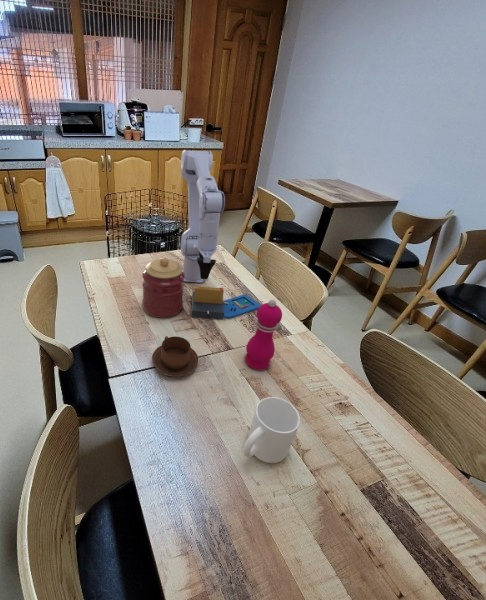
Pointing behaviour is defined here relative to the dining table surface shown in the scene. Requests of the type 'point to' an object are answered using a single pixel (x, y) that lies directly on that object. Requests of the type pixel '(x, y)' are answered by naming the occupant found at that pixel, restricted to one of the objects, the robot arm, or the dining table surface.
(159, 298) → the kitchen canister
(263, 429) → the mug
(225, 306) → the handheld gaming device
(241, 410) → the dining table surface
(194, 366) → the cup and saucer
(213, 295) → the tan rectangular block
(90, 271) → the dining table surface
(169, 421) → the dining table surface
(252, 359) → the pepper mill
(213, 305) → the frame stand
